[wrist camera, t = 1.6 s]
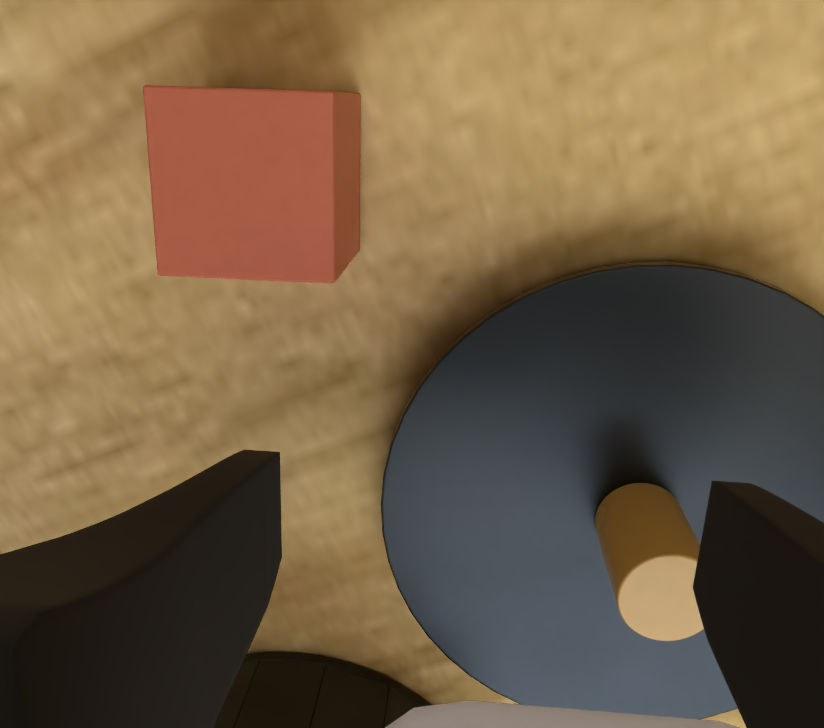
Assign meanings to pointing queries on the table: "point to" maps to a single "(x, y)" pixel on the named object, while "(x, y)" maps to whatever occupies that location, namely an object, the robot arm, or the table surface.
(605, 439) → the tin lid
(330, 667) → the tin
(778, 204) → the table surface
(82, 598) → the robot arm
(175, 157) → the block
